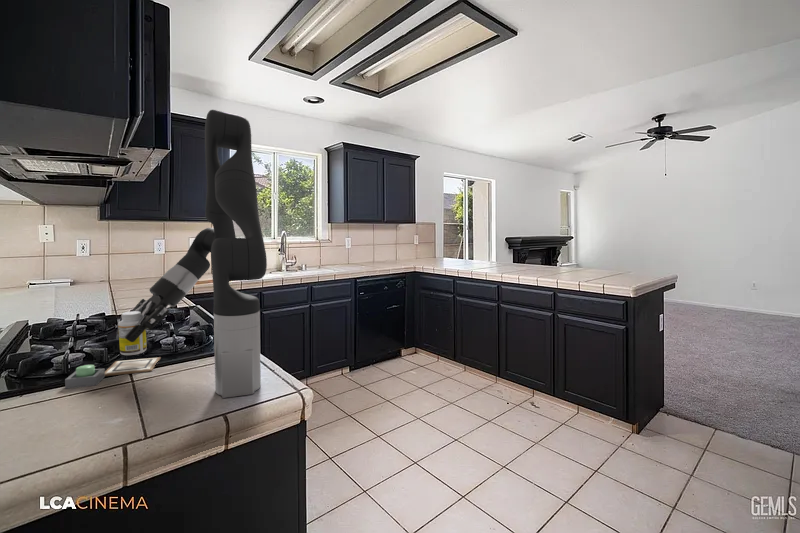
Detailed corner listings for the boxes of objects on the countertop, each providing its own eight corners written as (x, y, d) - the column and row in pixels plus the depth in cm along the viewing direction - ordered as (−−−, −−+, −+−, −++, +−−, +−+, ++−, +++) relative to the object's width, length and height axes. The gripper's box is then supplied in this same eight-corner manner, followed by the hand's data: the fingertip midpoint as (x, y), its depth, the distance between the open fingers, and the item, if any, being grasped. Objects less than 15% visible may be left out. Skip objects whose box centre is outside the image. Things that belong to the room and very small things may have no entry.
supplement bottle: (137, 347, 97) (135, 309, 96) (151, 350, 95) (150, 311, 94) (114, 354, 92) (112, 313, 91) (129, 357, 90) (126, 316, 89)
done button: (91, 378, 82) (91, 368, 82) (73, 380, 81) (73, 370, 81) (97, 373, 85) (96, 364, 85) (79, 375, 84) (79, 365, 84)
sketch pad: (151, 371, 91) (151, 369, 91) (101, 376, 87) (101, 374, 87) (160, 358, 100) (160, 356, 100) (115, 362, 96) (115, 360, 96)
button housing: (96, 385, 82) (95, 376, 82) (65, 388, 80) (64, 379, 80) (105, 376, 87) (104, 368, 87) (76, 379, 85) (75, 371, 85)
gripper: (152, 274, 102) (101, 324, 94) (174, 279, 93) (120, 335, 85) (174, 290, 107) (127, 340, 98) (197, 297, 98) (147, 351, 90)
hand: (124, 337), depth 92 cm, fingers closed on supplement bottle, 5 cm apart
